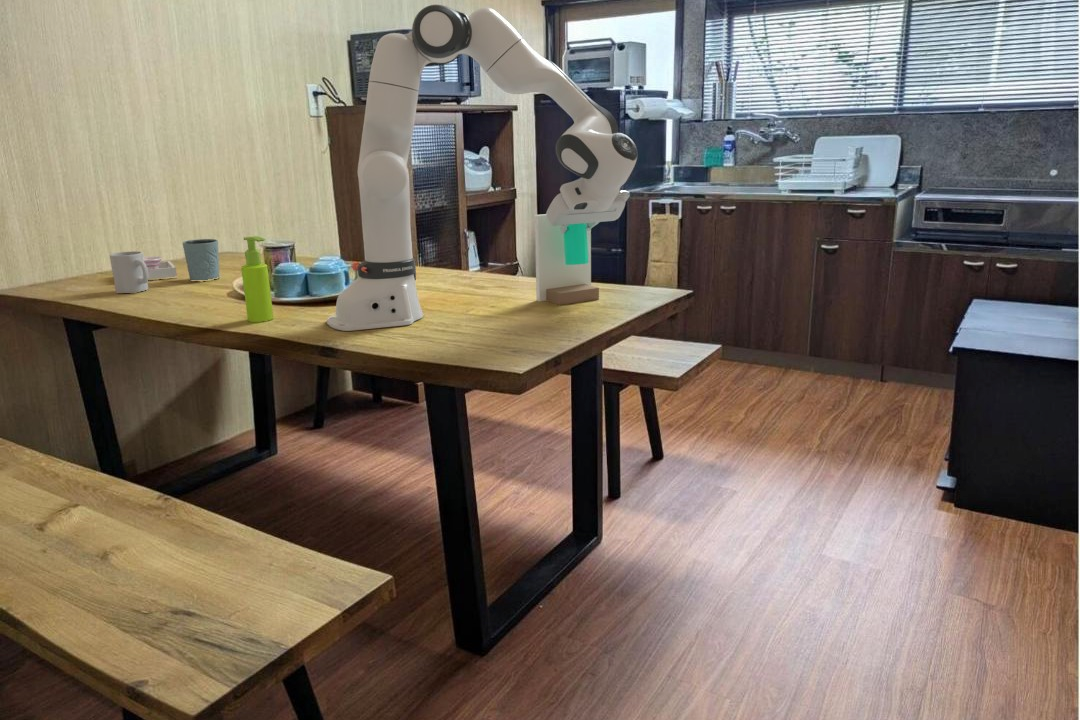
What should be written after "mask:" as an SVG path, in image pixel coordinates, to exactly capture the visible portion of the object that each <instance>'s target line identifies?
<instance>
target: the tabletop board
mask: <svg viewBox="0 0 1080 720" xmlns="http://www.w3.org/2000/svg"><path fill="white" fill-rule="evenodd" d="M561 226H562V225H557V226H552V225H551V224H550V222H549V220H548V218H547V215H546V213H545V214H543V213H542V214H534V241H535V242H534V243H535V246H534V247H535V249H534V250H535V284H536V285H535V287H536V289H535V290H536V291H535V292H536V294H535V295H536V301H537V302H549V303H553V304H556V305H558V306H562V305H568V304H569V305H570V304H576V303H582V302H588V301H589V302H590V301H595V300H600V288H599V287H597V286H595V285H592V233H591V232H592V229H591V230H590V231H587V244H588V263H587V264H577V265H566V264H565V248H564V234H562V233H561V231H560V227H561Z"/></svg>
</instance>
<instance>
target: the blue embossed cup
mask: <svg viewBox="0 0 1080 720" xmlns="http://www.w3.org/2000/svg"><path fill="white" fill-rule="evenodd" d="M182 247H183V252H184V258H185V261H186V267H187V271H188V276H189V281H190V280H208V279H213V278H217V277H219V276H221V275H220V263H219V262H220V256H219V242H218V240H217V239H213V238H212V239H211V238H203V239H189V240H184V241H182Z"/></svg>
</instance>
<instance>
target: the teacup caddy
mask: <svg viewBox="0 0 1080 720" xmlns="http://www.w3.org/2000/svg"><path fill="white" fill-rule="evenodd" d="M159 263H160V264H159V269H149V270H148V279H156V278H165V277H175V276H177V277H178V275H177V268H176V266H175V265H174V264H173V262H171V260H166V261H160V262H159Z"/></svg>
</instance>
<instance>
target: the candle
mask: <svg viewBox="0 0 1080 720" xmlns="http://www.w3.org/2000/svg"><path fill="white" fill-rule="evenodd" d="M567 228H568V229H569V230H568V231H567V232H566V233H564V248H565V264H566V265H577V264H587V263H588V244H587V226H586V223H581V224H569V226H567Z"/></svg>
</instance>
